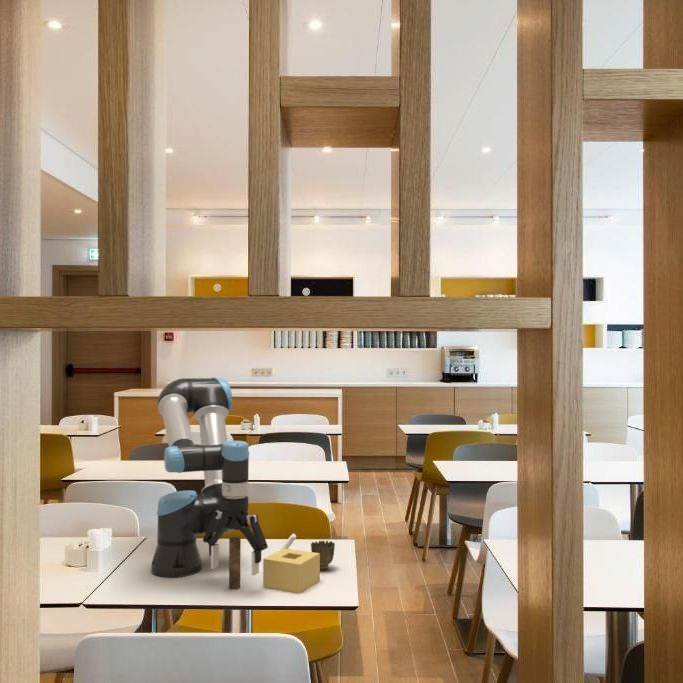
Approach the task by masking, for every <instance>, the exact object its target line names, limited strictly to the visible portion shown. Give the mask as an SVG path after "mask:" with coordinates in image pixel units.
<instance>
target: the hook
mask: <svg viewBox="0 0 683 683" xmlns="http://www.w3.org/2000/svg"><path fill="white" fill-rule="evenodd" d="M296 538H297V535H296V534H295V533H292V534H291V535H290V536H289V537H288V538H287V540H286V542H284V544H282V547H281V548H280V550H282V549H284V548H286V549H290V547H291V546H292V544H293V542H295V540H296Z"/></svg>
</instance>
